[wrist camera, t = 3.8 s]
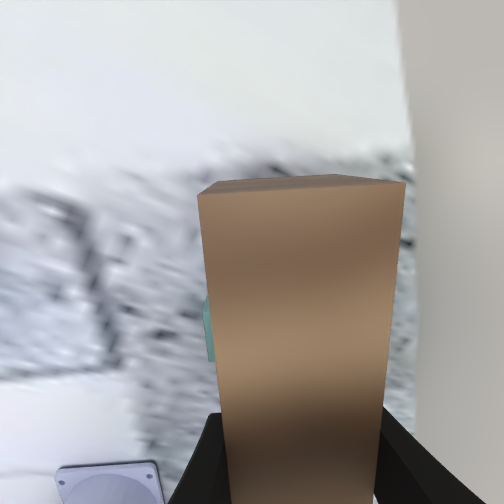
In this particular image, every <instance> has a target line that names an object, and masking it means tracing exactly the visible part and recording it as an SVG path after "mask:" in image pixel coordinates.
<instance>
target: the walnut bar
mask: <svg viewBox="0 0 504 504" xmlns="http://www.w3.org/2000/svg"><path fill="white" fill-rule="evenodd" d="M405 187H406V183H404V182H396V181H387V180H379V179H371V178H363V177H354V176H346V175H338V174H330V175H313V176H296V177H279V178H262V179H245V180H228V181H217V182H216V183H214V184H213V185H211V186H210V187H208V188H207V189H205V190H204V191H202V192H201V193H199V194H198V195H197V199H198V208H199V217H200V226H201V235H202V244H203V253H204V262H205V271H206V279H207V288H208V297H209V306H210V315H211V324H212V333H213V342H214V351H215V360H216V369H217V377H218V386H219V395H220V404H221V413H222V422H223V431H224V440H225V449H226V458H227V467H228V475H229V484H230V493H231V502H232V504H373V495H374V486H375V476H376V466H377V457H378V447H379V437H380V428H381V418H382V408H383V399H384V389H385V380H386V370H387V360H388V351H389V341H390V331H391V322H392V312H393V303H394V293H395V283H396V274H397V264H398V254H399V245H400V235H401V225H402V216H403V206H404V197H405Z"/></svg>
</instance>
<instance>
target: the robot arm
mask: <svg viewBox="0 0 504 504" xmlns="http://www.w3.org/2000/svg"><path fill="white" fill-rule="evenodd" d="M54 479H55V482H56V485H57V487H58V490H59V493H60V496H61V498H62V501H63V504H164V501H163V496H162V492H161V487H160V483H159V478H158V474H157V469H156V466H155V464H153V463H136V464H122V465H108V466H94V467H80V468H67V469H59V470H58V471H57V472H56V473H55V475H54ZM374 495H375V497H376V499H377V502H378V504H486V503H484V502H483V501H482V500H481V499H480V498H479V497H477V496H476V495H475V494H474V493H473V492H471V491H470V490H469V489H468V488H467V487H466V486H465V485H464V484H463V483H461V482H460V481H459V480H458V479H457V478H456V477H455V476H454V475H452V474H451V473H450V472H449V471H448V470H447V469H446V468H445V467H444V466H443V465H441V463H440V462H439V461H437V460H436V459H435V458H434V457H433V456H432V455H431V454H430V453H429V452H428V451H427V450H426V449H425V448H424V447H423V446H422V445H421V444H420V443H419V442H418V441H417V440H416V439H415V438H414V437H413V436H412V435H411V434H410V433H409V432H408V431H407V430H406V429H405V428H404V427H403V426H402V425H401V424H400V423H399V422H398V421H397V420H396V419H395V418H394V417H393V416H392V415H391V414H390V413H389V412H388V411H387V410H386V409H385V408H384V407H383V408H382V418H381V428H380V437H379V447H378V457H377V466H376V476H375V486H374ZM168 504H232V502H231V493H230V484H229V475H228V467H227V458H226V449H225V440H224V431H223V422H222V413H211V414H210V415H209V416H208V418H207V421H206V424H205V427H204V429H203V432H202V434H201V437H200V439H199V441H198V444H197V446H196V448H195V450H194V453H193V455H192V457H191V459H190V461H189V463H188V465H187V467H186V469H185V471H184V473H183V476H182V478H181V480H180V481H179V483H178V485H177V487H176V489H175V491H174V493H173V494H172V496H171V498H170V500H169V502H168Z"/></svg>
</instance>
